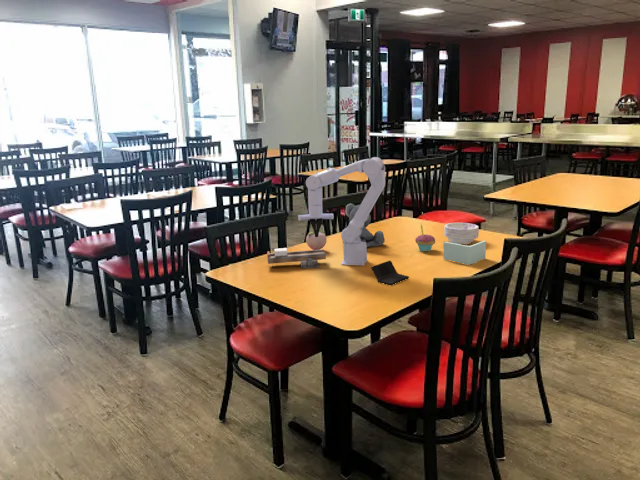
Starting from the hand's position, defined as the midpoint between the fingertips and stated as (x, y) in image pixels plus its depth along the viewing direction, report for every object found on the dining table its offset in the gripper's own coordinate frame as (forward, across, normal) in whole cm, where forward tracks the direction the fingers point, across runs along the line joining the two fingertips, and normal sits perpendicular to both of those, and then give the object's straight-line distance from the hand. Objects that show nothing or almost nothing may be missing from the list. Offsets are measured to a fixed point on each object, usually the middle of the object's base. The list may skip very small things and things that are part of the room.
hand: (316, 236), depth 214 cm
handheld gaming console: (+11, -24, +30) cm, 40 cm away
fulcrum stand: (+10, +4, +5) cm, 12 cm away
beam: (+8, +9, +5) cm, 13 cm away
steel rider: (+6, +15, +5) cm, 17 cm away
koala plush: (+11, -22, -21) cm, 32 cm away
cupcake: (+10, -48, -5) cm, 49 cm away
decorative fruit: (+11, -1, -14) cm, 18 cm away
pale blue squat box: (+10, -59, +11) cm, 61 cm away
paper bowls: (+10, -67, -15) cm, 70 cm away
